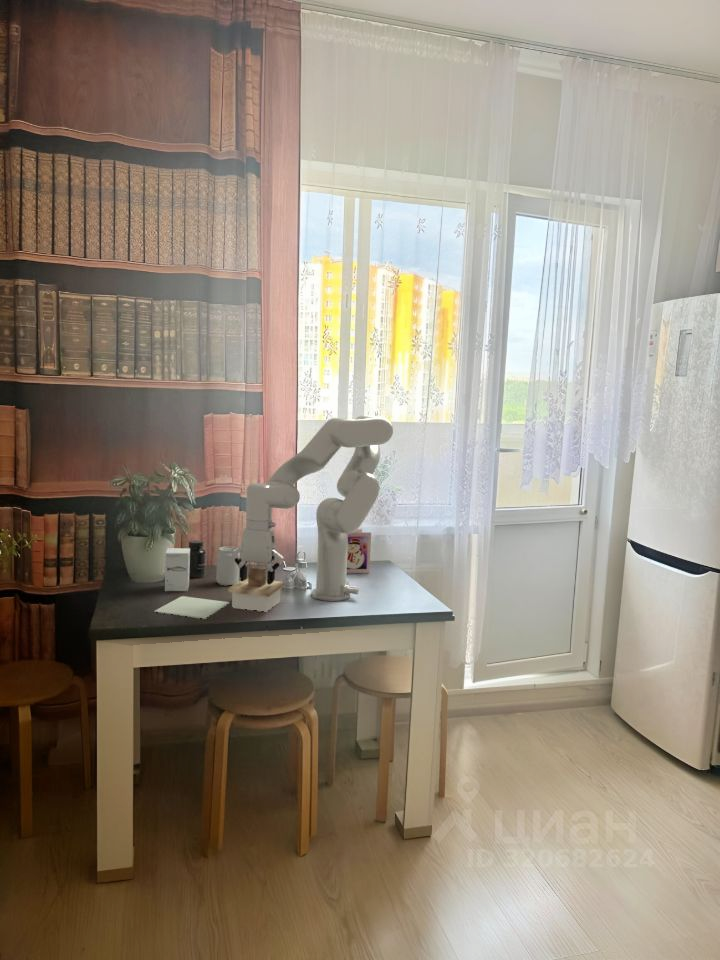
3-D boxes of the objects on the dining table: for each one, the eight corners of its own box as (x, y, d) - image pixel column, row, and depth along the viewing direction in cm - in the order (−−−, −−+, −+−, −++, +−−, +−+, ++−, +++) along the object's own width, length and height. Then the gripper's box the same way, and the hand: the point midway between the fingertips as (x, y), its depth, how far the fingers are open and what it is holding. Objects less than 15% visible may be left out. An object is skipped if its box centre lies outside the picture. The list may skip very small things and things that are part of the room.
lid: (284, 585, 226) (285, 566, 225) (268, 597, 214) (269, 576, 213) (245, 581, 229) (246, 561, 229) (227, 591, 217) (228, 571, 216)
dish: (280, 601, 226) (280, 586, 225) (266, 612, 216) (266, 595, 215) (247, 597, 229) (247, 582, 228) (232, 607, 218) (232, 591, 218)
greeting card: (338, 573, 262) (340, 532, 260) (335, 568, 270) (337, 528, 268) (369, 573, 265) (371, 533, 263) (365, 568, 272) (367, 528, 270)
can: (236, 587, 240) (237, 551, 239) (214, 585, 240) (214, 550, 239) (240, 580, 248) (241, 546, 246) (218, 579, 248) (219, 545, 246)
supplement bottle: (204, 578, 248) (204, 544, 247) (183, 578, 248) (184, 543, 246) (206, 573, 255) (207, 539, 254) (186, 573, 254) (187, 539, 253)
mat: (229, 603, 222) (229, 602, 222) (204, 619, 207) (204, 617, 207) (181, 597, 226) (181, 596, 226) (154, 612, 211) (154, 610, 211)
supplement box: (164, 591, 231) (164, 552, 230) (166, 585, 239) (166, 547, 237) (188, 591, 233) (188, 553, 231) (189, 585, 240) (190, 547, 238)
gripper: (290, 525, 220) (288, 582, 223) (236, 520, 225) (235, 575, 227) (281, 529, 213) (279, 588, 215) (226, 524, 218) (225, 581, 220)
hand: (256, 581), depth 221 cm, fingers open, 8 cm apart
